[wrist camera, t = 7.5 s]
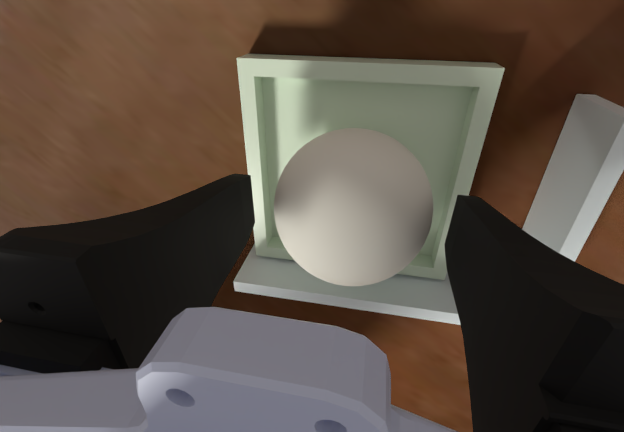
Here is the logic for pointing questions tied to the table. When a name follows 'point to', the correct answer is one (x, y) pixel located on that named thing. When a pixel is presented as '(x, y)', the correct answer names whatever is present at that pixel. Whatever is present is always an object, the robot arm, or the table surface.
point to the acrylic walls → (539, 224)
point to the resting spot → (367, 126)
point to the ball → (353, 207)
